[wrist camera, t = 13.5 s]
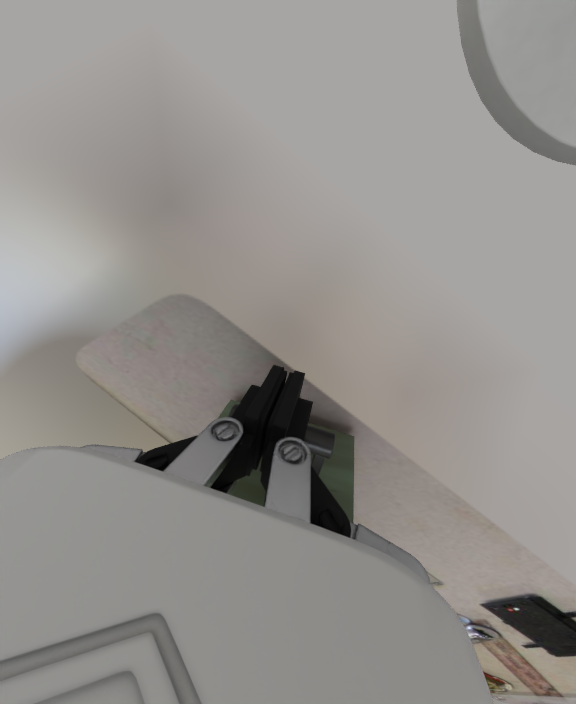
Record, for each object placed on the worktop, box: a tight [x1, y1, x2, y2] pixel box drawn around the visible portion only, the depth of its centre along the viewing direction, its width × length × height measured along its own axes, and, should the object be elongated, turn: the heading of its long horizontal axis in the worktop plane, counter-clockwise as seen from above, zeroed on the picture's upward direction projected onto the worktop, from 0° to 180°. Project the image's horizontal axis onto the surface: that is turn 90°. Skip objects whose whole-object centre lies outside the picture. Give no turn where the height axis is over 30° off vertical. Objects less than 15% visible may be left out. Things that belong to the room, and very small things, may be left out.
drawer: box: [218, 400, 354, 523], centre depth 19 cm, size 18×10×8 cm, turn 171°
